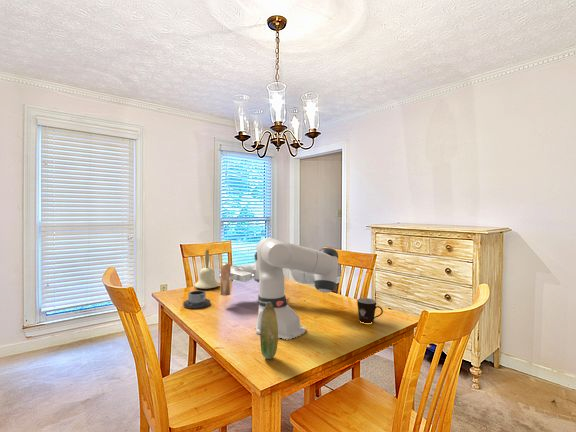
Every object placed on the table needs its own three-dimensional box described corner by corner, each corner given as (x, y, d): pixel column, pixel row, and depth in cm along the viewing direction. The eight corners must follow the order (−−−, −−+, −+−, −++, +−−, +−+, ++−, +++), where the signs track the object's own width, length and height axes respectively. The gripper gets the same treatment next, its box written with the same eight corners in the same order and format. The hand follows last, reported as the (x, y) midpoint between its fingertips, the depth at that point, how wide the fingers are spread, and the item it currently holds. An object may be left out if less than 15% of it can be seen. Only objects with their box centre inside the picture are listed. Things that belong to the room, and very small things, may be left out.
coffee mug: (353, 320, 148) (353, 299, 148) (368, 317, 151) (369, 297, 151) (367, 329, 137) (368, 306, 137) (384, 326, 140) (384, 304, 140)
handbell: (220, 289, 199) (220, 250, 198) (195, 291, 193) (196, 251, 192) (217, 283, 213) (217, 247, 212) (193, 285, 207) (193, 248, 206)
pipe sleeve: (215, 304, 169) (215, 292, 169) (194, 310, 158) (194, 298, 158) (199, 299, 178) (199, 287, 177) (177, 305, 166) (177, 293, 166)
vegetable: (281, 358, 110) (281, 302, 109) (270, 365, 105) (271, 306, 104) (267, 353, 113) (268, 299, 113) (256, 360, 108) (257, 303, 107)
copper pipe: (232, 294, 165) (232, 264, 165) (225, 296, 161) (225, 265, 161) (225, 292, 168) (226, 262, 168) (218, 294, 164) (218, 264, 164)
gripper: (256, 281, 169) (238, 286, 158) (230, 276, 181) (211, 280, 170) (257, 270, 169) (238, 274, 157) (230, 265, 181) (211, 269, 170)
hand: (224, 277), depth 164 cm, fingers closed on copper pipe, 5 cm apart
